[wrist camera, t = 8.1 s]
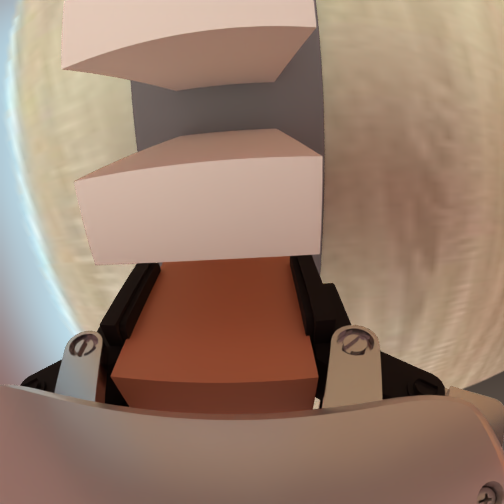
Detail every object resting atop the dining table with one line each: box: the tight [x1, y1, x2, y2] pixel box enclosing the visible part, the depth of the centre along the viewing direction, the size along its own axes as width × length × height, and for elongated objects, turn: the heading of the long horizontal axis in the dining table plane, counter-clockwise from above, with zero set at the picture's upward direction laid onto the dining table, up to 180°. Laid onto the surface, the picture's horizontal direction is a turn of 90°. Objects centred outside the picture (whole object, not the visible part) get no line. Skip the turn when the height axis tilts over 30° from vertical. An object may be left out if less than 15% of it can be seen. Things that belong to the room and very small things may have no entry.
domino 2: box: [74, 129, 323, 265], centre depth 10 cm, size 2×5×10 cm, turn 93°
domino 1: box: [61, 0, 316, 91], centre depth 8 cm, size 2×5×10 cm, turn 93°
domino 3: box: [111, 256, 319, 414], centre depth 11 cm, size 2×5×10 cm, turn 93°
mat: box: [131, 0, 324, 275], centre depth 16 cm, size 10×26×1 cm, turn 3°
